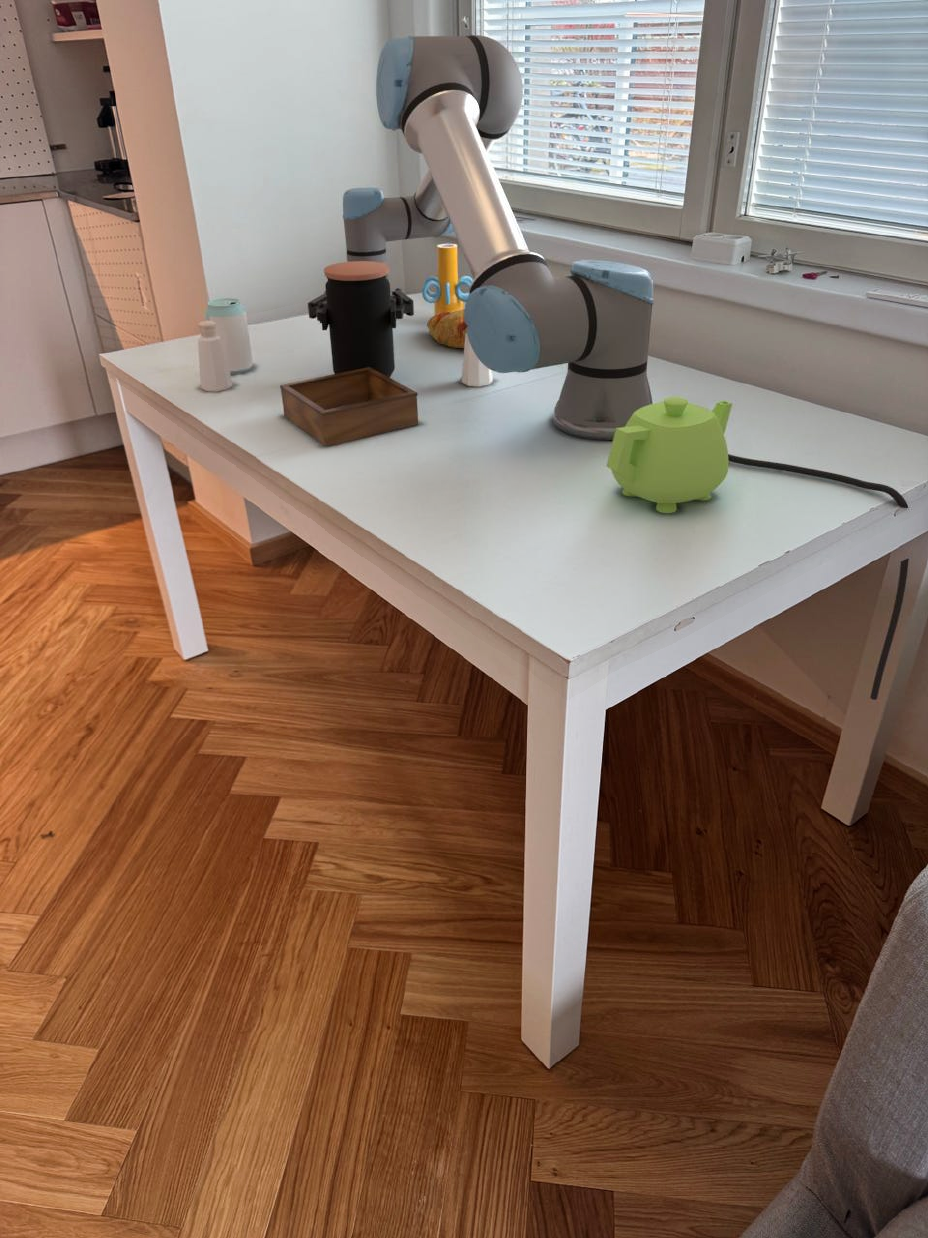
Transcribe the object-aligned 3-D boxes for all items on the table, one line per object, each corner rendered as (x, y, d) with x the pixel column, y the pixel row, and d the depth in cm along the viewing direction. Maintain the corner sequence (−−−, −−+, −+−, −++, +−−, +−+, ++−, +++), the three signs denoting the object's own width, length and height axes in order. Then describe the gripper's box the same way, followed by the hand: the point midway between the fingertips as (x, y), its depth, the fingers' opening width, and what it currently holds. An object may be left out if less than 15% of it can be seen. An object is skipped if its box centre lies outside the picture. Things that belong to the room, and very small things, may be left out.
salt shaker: (232, 380, 165) (222, 316, 159) (234, 390, 161) (224, 324, 155) (200, 383, 164) (189, 319, 158) (201, 393, 159) (190, 327, 154)
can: (242, 361, 175) (233, 294, 169) (260, 369, 170) (251, 301, 164) (207, 368, 171) (196, 301, 165) (224, 377, 167) (213, 308, 160)
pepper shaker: (480, 388, 158) (479, 322, 153) (455, 383, 161) (453, 318, 155) (499, 380, 162) (499, 315, 156) (473, 375, 165) (473, 311, 159)
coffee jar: (396, 365, 168) (390, 259, 158) (394, 384, 159) (387, 273, 149) (336, 367, 168) (326, 261, 158) (331, 386, 159) (320, 275, 149)
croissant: (419, 351, 190) (402, 319, 184) (452, 319, 192) (436, 286, 186) (488, 372, 175) (471, 338, 170) (523, 338, 178) (508, 303, 172)
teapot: (684, 459, 131) (694, 370, 124) (760, 491, 121) (775, 396, 114) (573, 496, 121) (578, 401, 114) (646, 533, 112) (656, 433, 105)
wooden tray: (419, 424, 145) (417, 392, 142) (325, 446, 138) (322, 413, 135) (372, 397, 156) (369, 366, 153) (283, 416, 149) (279, 384, 146)
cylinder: (474, 329, 191) (472, 251, 183) (422, 329, 191) (419, 251, 183) (474, 313, 201) (473, 239, 193) (426, 314, 201) (423, 240, 193)
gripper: (428, 308, 175) (429, 341, 156) (304, 311, 175) (290, 345, 156) (427, 266, 171) (428, 295, 152) (300, 269, 171) (285, 299, 152)
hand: (358, 320), depth 154 cm, fingers closed on coffee jar, 11 cm apart
